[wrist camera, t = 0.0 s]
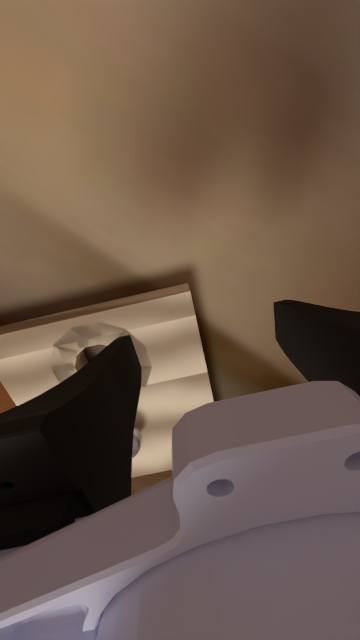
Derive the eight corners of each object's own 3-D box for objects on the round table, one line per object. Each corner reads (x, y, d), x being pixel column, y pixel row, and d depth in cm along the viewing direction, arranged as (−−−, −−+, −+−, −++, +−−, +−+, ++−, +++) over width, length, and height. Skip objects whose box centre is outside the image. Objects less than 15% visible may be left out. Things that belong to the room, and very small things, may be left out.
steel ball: (147, 435, 25) (145, 464, 22) (117, 441, 25) (111, 471, 22) (138, 412, 24) (134, 440, 21) (107, 419, 24) (98, 448, 21)
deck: (221, 439, 29) (226, 458, 27) (79, 468, 30) (72, 489, 28) (187, 282, 21) (190, 291, 19) (-7, 327, 22) (-27, 340, 20)
